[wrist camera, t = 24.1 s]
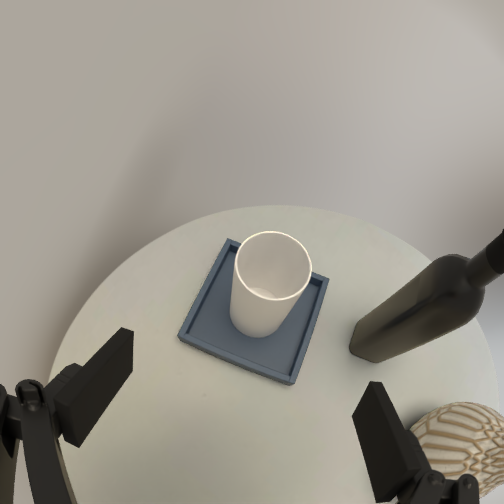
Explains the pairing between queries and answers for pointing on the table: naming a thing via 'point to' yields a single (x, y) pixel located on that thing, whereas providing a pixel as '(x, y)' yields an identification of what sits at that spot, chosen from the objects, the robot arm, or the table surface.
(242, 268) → the cup
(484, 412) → the vase
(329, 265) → the table surface
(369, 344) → the wine bottle
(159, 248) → the table surface
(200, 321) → the cup tray
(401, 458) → the robot arm
